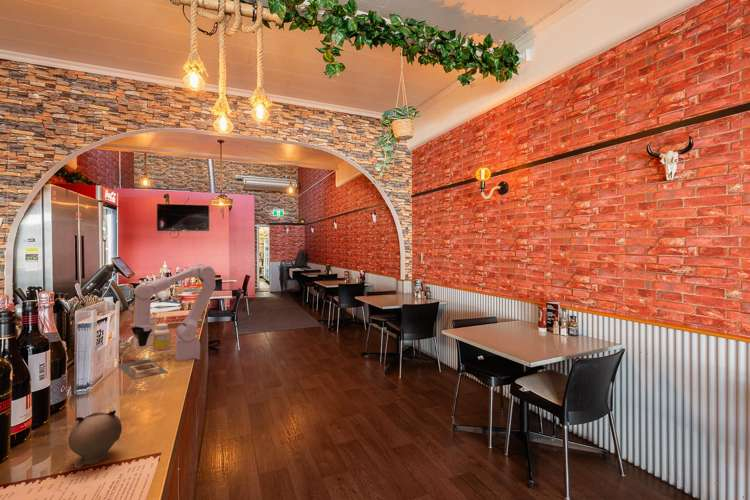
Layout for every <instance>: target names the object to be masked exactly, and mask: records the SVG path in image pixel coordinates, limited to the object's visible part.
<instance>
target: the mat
mask: <svg viewBox="0 0 750 500" xmlns="http://www.w3.org/2000/svg"><path fill="white" fill-rule="evenodd" d="M152 362H153V363H154V364H155V365H157V366H158V367H160V373H159V374H156V375H151V376H147V377H142V378H138V379H136V378H135V377H133V376H132V375H131V374H130V367H132V366H137V365H142V364H147V363H152ZM116 366H117V367H118V368H119V369H120V370H122V372H124V373H125V374H126V375H127V376H129V377H130V379H132V380H133V381H135V380H139V379H144V378H149V377H153V376H158V375H162V374H165V375H163V376H166V374H167V373H169V372H168V371H167V370H166V369H164V368H162V366H160V365H158V363H156V362H154V361H153V360H151V358H148V359H142V360H136V361H131V362H125V363H120V364H116ZM154 378H157V377H154ZM147 380H148V379H145V381H147ZM137 382H139V381H136V383H137Z"/></svg>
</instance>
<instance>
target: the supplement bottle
mask: <svg viewBox="0 0 750 500" xmlns="http://www.w3.org/2000/svg"><path fill="white" fill-rule="evenodd" d="M168 326H169V325H168V323H158V324H156V329H155V331H154V342H153V345H152V350H153V351H156V352H163V351H167V350H169V349H170V334H171V333H170V332H171V330H170V329H168Z"/></svg>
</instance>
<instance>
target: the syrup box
mask: <svg viewBox="0 0 750 500" xmlns="http://www.w3.org/2000/svg"><path fill="white" fill-rule="evenodd" d="M156 318H157V316H155V315H150V329H152V332H151V333H150V335H149V337H148V347H150V346H153V342H154V331H155V330H156V323H157V322H156V321H157V320H156Z"/></svg>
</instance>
